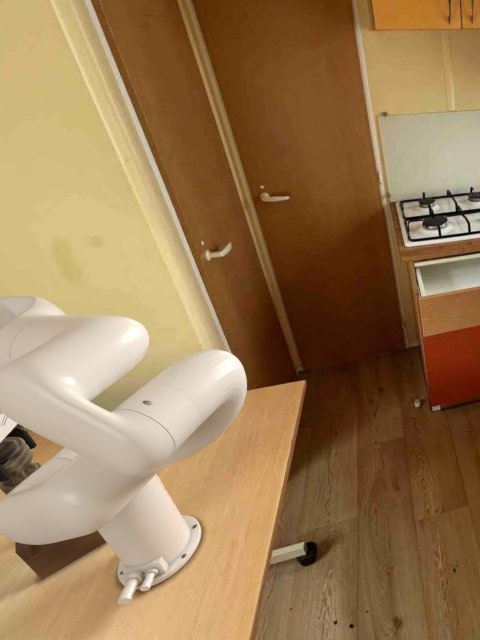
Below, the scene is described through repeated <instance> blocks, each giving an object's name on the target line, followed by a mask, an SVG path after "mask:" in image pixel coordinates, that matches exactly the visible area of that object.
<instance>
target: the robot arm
mask: <svg viewBox="0 0 480 640" xmlns="http://www.w3.org/2000/svg"><path fill="white" fill-rule="evenodd" d="M149 348H150V334H149V331H148V330H147V328H146V327H145V325H143V324H142V323H141V322H139V321H138V320H136V319H135V318H131V317H129V316H124V315H117V314H66V312H64V311H63V310H62V309H61V308H60V307H58V306H57V305H56V304H54V303H53V302H51V301H49V300H47V299H44V298H42V297H39V296H35V295H8V296H0V443H1V441H2V440H3V439H4V438H8V437H19V438H22V439H23V440H24V441H25V443H26V444H27V445H28V446H29V448H30V450H33V449H35V448H36V447H37V445H38V444H37V443H36V441H35V440H34V439H33V438H32V436H31V435H30V434H29V432H28V431H27V430H29V431H30V432H32V433H34V434H37V435H38V436H40V437H42V438H44V439H47V440H49V441H51V442H52V443H55V444H56V445H59V446H61V447H63V448H62V449H61V450H59V451H58V452H56V454H54V455H53V456H52V457H50V458H49V459H48V460H47V461H46V462H44V464H41V465H42V466H41V467H40V468H39V469H37V470H36V471H35V472H34V473H32V474H31V475H30V476H29V477H27V478H26V479H25V480H24V481H22V482H21V483H20V484H19V485H17V486H16V487H15V488H14V489H13V490H12V491H10V492H9V493H8V494H7V495H6V494H5V495H4V496H3V497H2V498H1V499H0V535H1V536H3V537H4V538H6V539H7V540H10V541H11V542H18V543H22V544H29V545H43V544H50V543H55V542H60V541H64V540H68V539H73V538H77V537H81V536H85V535H88V534H91V533H93V532H95V531H98V532H99V533H100V534H101V536H102V537H103V538H104V540H105V541H106V544H107V545H108V546H109V547H110V549H111V550H112V551H113V552H114V553H115V555H116V556H117V557H118V559H119V562H118V567H117V574H116V575H117V578H118V581H119V582H120V583H121V585H123V586H124V587H123V588H122V590H121V592H120V595H119V596H118V599H117V600H116V603H117V605H119V606H126V605H129V604H131V602H132V601H133V599H134V597H135V595H136V592H137V590H139V591H141V592H149V590H150V589H151V588H152V587H154V586H156V585H158V584H160V583H162V582H164V581H165V580H167V579H169V578H170V577H171V576H173V575H174V574H176V573H177V572H178V571H179V570H180V569H182V567H183V566H185V565H186V564H187V563H188V561H189V560H190V559H191V558H192V556H193V555H194V553H195V552H196V550H197V549H198V546H199V544H200V541H201V539H202V527H201V525H200V522H199V521H198V520H197V519H196V518H195V517H193V516H191V515H187V514H182V513H181V512H180V511H179V509H178V508H177V506H176V504H175V502H174V501H173V499H172V497H171V495H170V494H169V492H168V491H167V489H166V487H165V485H164V484H163V482H162V481H161V478H160V477H159V475H158V473H159V472H160V471H161V470H163V469H165V468H168V467H170V466H173V465H175V464H178V463H180V462H182V461H185V460H187V459H189V458H192V457H194V456H195V455H197V454H198V453H201V452H202V451H203V450H205V449H206V448H207V447H209V446H210V445H211V444H213V443H214V442H216V440H218V439H219V438H220V437H221V436H222V435H223V434H224V433H225V432H226V431H227V430H228V429H229V428H230V426H231V425H232V424H233V423H234V421H235V420H236V418H237V417H238V416H239V414H240V412H241V410H242V408H243V406H244V403H245V400H246V396H247V392H248V379H247V374H246V371H245V368H244V365H243V364H242V362H241V361H240V360H239V358H238V357H236V355H234V354H233V353H231V352H229V351H227V350H223V349H213V348H212V349H204V350H200V351H197V352H193V353H190V354H188V355H186V356H183V357H181V358H180V359H178V360H176V361H174V362H173V363H172V364H170V365H168V366H167V367H166V368H165V369H163V370H162V371H160V372H159V373H158V374H157V375H156V376H154V377H153V378H152V379H150V380H149V381H148V382H147V383H145V384H144V385H142V387H140V388H139V389H138V390H137V391H135V392H134V393H133V394H132V395H130V396H129V397H128V398H126V399H125V400H124V401H122V403H120V404H119V405H118V406H117V407H116V408H114V409H113V410H112V411H109V410H107V409H105V408H104V407H101V406H99V405H97V404H95V403H93V402H92V400H94V399H95V398H96V397H98V396H99V395H100V394H102V393H103V392H104V391H105V390H107V389H108V388H109V387H111V386H112V385H113V384H115V383H116V382H117V381H119V380H120V379H122V378H123V377H124V376H126V375H127V374H128V373H130V372H131V371H132V370H133V369H135V367H137V365H138V364H140V362H141V361H142V360H143V359H144V357H145V355H147V352H148V350H149ZM26 429H27V430H26ZM10 477H11V476H10V474H9V473H8V472H7V471H6V470H5V468H4V467H3V466H2V465H1V464H0V482H4V481H8V480H9V478H10Z"/></svg>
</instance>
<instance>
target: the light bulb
mask: <svg viewBox="0 0 480 640" xmlns="http://www.w3.org/2000/svg"><path fill="white" fill-rule="evenodd" d="M33 459H34V452H33V451H31V449H30V448H29V446H28V445H27V444H26V443H25V441H24V440H23V439H22V438H19V437H8V438H4V439H3V440H2V441H1V443H0V464H1V465H2V466H3V467H4V468H5V470H6V471H7V472H8V473H9V474H10V476H11V477H10V478H9V480H8V481H4V482H0V490H1V491H2V492H3V493H4V494H5V496H6V495H7V494H8V493H9V492H10V491H12V490H13V489H14V488H15V487H16V486H17V485H19V484H20V483H21V482H22V481H24V480H25V479H26V478H27V477H29V476H30V475H31V474H32V473H34V472H35V471H36V470H37V469H39V468H40V467H41V466H42V465H43V464H41V463H40V462H35V461H34V462H33Z"/></svg>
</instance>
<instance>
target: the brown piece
mask: <svg viewBox="0 0 480 640" xmlns="http://www.w3.org/2000/svg"><path fill="white" fill-rule="evenodd" d="M105 544H107V542H106V541H105V540H104V538H103V537H102V536H101V534H100V533H99V532H98V531H95V532H93V533H91V534H88V535H85V536H81V537H77V538H73V539H68V540H64V541H60V542H55V543H50V544H43V545H29V544H22V543H18V542H15V543H14V547H15V548H14V549H15V552H14V553H15V554H16V555H17V556H18V557H19V558H20V559H21V560H22V561H23V562H24V563H25V564H26V565H27V566H28V567H29V568H30V569H31V570H32V572H34V574H36V576H37V577H39V578H40V579H41V580H42V581H43V580H45V579H47V578H48V577H50V576H52V575H53V574H55V573H57V572H59V571H60V570H62V569H64V568H65V567H67V566H69V565H70V564H72V563H74V562H75V561H77V560H79V559H80V558H82V557H84V556H86V555H87V554H89V553H91V552H93V551H94V550H96V549H98V548H99V547H101V546H103V545H105Z"/></svg>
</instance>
